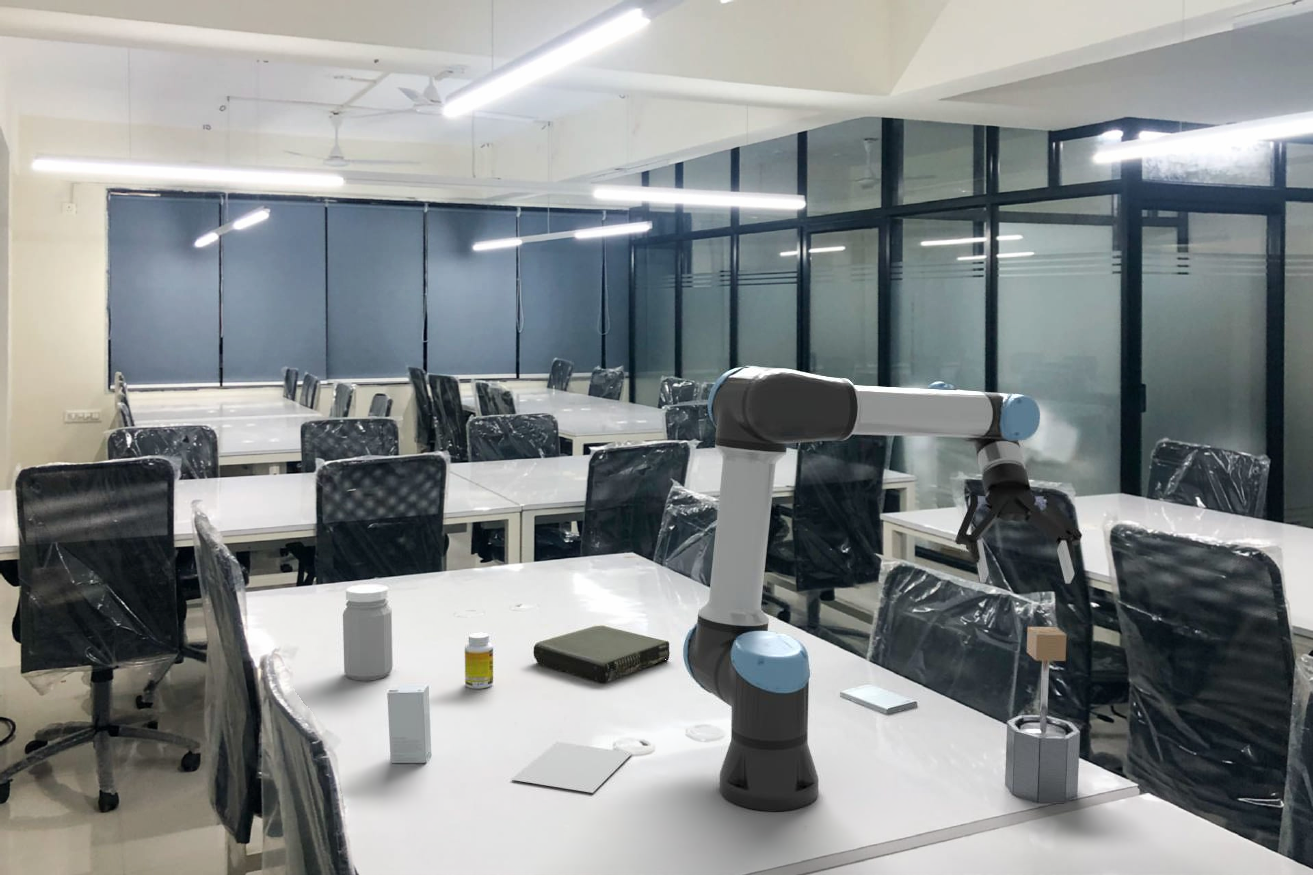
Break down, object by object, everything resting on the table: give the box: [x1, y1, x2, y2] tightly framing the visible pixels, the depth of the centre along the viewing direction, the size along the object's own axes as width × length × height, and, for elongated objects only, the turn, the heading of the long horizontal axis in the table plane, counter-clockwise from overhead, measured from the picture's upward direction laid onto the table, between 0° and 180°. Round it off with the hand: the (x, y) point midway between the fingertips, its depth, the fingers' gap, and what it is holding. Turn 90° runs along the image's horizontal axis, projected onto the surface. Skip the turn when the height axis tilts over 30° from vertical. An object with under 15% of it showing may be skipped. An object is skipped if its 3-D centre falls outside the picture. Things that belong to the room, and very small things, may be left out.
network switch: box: [532, 625, 670, 685], centre depth 230 cm, size 23×23×5 cm
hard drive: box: [839, 683, 918, 715], centre depth 207 cm, size 2×8×12 cm
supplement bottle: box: [464, 632, 494, 690], centre depth 214 cm, size 6×6×10 cm
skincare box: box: [387, 684, 432, 764], centre depth 177 cm, size 6×4×12 cm
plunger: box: [1020, 626, 1067, 737], centre depth 165 cm, size 7×7×16 cm
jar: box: [342, 583, 394, 681], centre depth 221 cm, size 10×10×18 cm
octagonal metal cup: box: [1004, 714, 1081, 804], centre depth 166 cm, size 10×10×10 cm
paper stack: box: [510, 741, 633, 794], centre depth 180 cm, size 23×25×1 cm
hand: (1027, 578), depth 174 cm, fingers open, 13 cm apart
